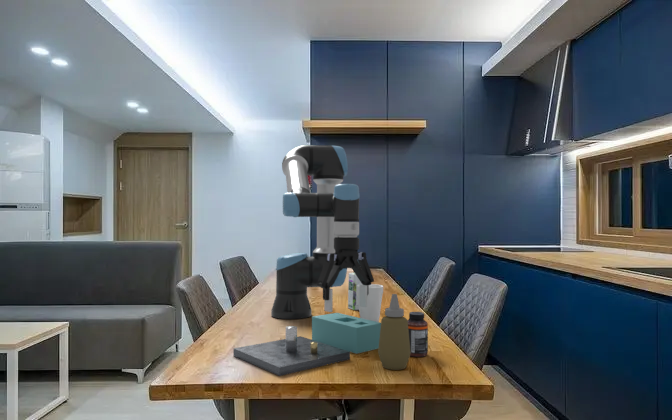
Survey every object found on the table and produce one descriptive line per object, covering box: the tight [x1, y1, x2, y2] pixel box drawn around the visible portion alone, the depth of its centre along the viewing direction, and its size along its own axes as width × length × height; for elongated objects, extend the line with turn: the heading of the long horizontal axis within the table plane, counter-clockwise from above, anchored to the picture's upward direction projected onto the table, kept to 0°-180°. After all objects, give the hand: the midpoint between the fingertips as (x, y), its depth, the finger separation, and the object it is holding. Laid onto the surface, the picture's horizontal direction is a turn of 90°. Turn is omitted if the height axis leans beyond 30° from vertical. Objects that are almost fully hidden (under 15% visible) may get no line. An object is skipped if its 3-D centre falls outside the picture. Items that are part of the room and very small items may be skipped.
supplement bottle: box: [407, 311, 429, 358], centre depth 136 cm, size 6×6×11 cm
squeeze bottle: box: [377, 293, 411, 371], centre depth 124 cm, size 8×8×18 cm
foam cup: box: [356, 283, 384, 322], centre depth 177 cm, size 10×9×13 cm
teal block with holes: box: [311, 312, 381, 354], centre depth 147 cm, size 20×10×7 cm, turn 40°
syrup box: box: [347, 272, 362, 311], centre depth 204 cm, size 6×6×14 cm
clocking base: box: [232, 325, 351, 377], centre depth 132 cm, size 22×22×8 cm
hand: (346, 309), depth 147 cm, fingers open, 13 cm apart
